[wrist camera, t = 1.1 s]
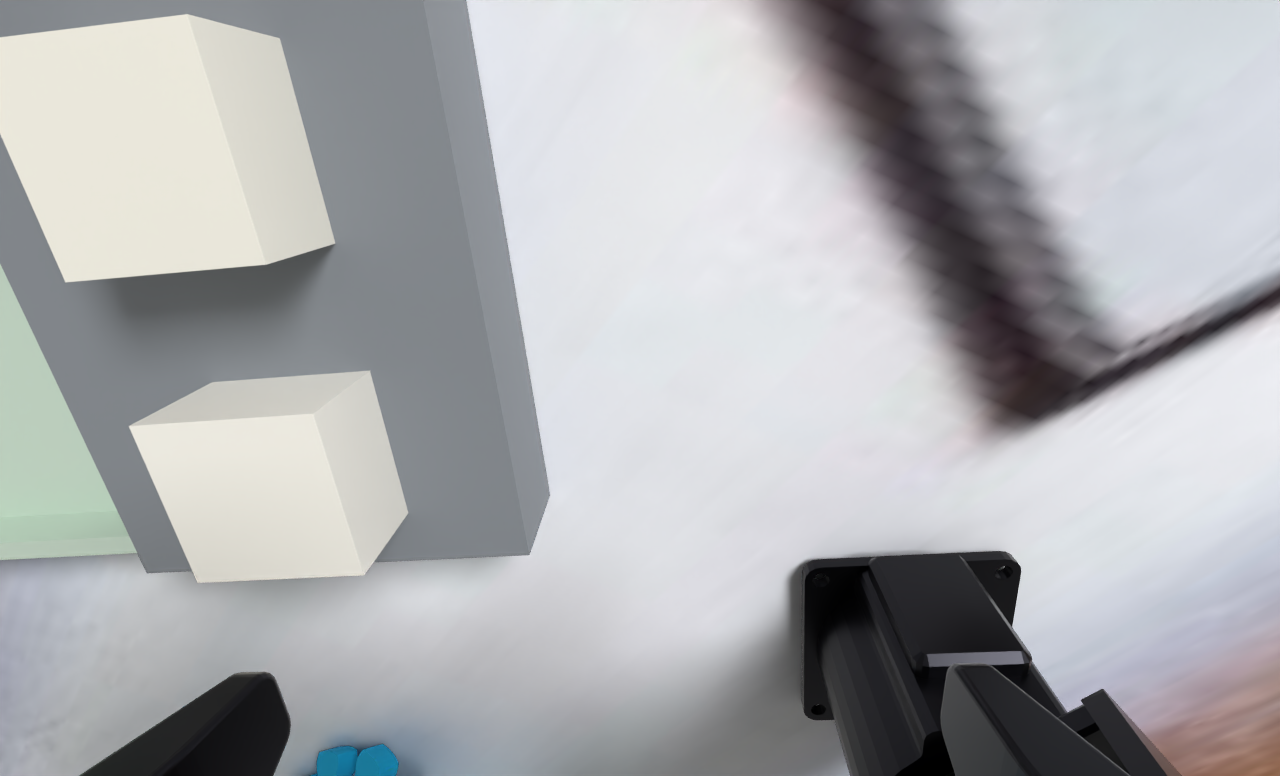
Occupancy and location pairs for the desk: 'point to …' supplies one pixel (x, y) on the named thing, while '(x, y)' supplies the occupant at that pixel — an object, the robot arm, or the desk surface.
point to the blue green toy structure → (357, 762)
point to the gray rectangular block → (323, 280)
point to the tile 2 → (276, 476)
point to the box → (45, 458)
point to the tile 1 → (160, 147)
